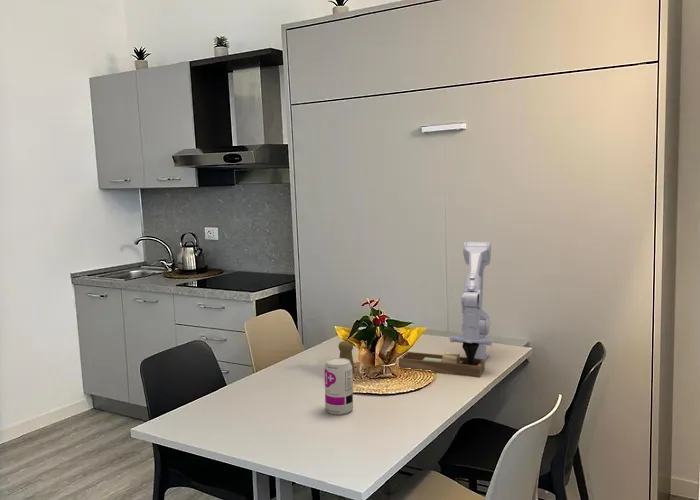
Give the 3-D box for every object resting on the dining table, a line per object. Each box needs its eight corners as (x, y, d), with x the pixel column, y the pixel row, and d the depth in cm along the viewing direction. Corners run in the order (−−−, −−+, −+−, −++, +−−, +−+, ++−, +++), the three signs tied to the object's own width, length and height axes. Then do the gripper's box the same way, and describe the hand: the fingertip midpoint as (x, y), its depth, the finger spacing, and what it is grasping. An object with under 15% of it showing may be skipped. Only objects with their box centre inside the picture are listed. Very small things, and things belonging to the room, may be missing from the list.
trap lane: (406, 361, 232) (406, 351, 232) (484, 369, 221) (484, 359, 221) (398, 368, 223) (398, 358, 223) (479, 377, 212) (479, 366, 212)
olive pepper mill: (355, 369, 224) (355, 339, 223) (354, 374, 218) (353, 344, 217) (338, 369, 224) (338, 339, 223) (336, 374, 219) (336, 343, 217)
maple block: (445, 360, 224) (445, 352, 223) (459, 361, 222) (459, 353, 222) (442, 364, 219) (442, 356, 219) (456, 365, 217) (456, 357, 217)
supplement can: (333, 417, 180) (331, 367, 178) (321, 408, 187) (319, 360, 185) (357, 412, 184) (356, 363, 182) (345, 403, 191) (344, 355, 189)
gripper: (447, 326, 215) (447, 364, 217) (490, 330, 210) (489, 369, 211) (452, 322, 222) (452, 359, 223) (493, 325, 216) (493, 363, 218)
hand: (470, 363), depth 218 cm, fingers closed
